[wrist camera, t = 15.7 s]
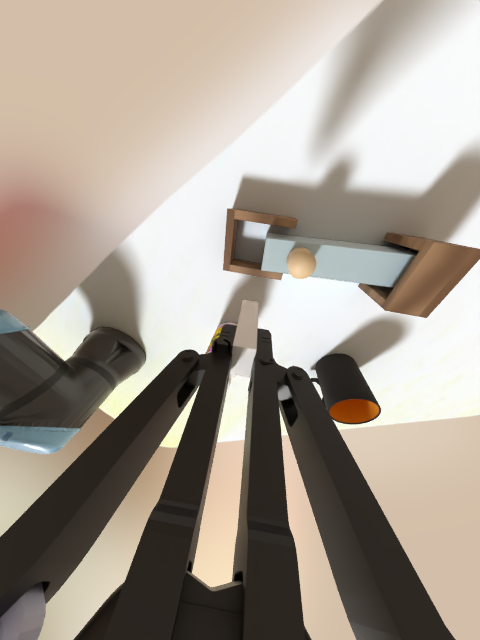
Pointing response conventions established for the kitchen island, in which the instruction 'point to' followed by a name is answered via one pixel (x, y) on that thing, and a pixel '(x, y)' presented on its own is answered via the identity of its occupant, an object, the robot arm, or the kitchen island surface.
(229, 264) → the brown wooden u-shaped frame
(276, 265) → the slat
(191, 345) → the kitchen island surface
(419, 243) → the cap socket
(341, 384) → the mug
